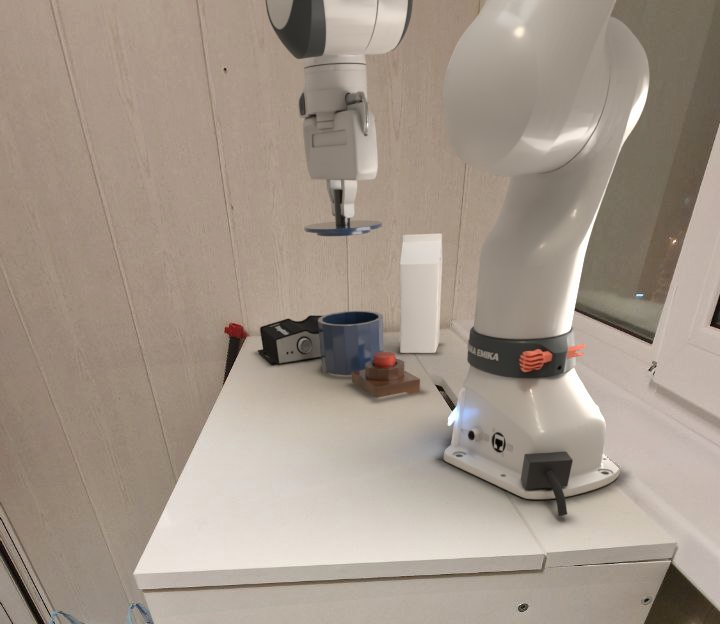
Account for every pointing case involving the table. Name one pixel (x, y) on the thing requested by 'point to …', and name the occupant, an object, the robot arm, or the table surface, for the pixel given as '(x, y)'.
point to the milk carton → (420, 293)
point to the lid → (342, 223)
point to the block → (386, 379)
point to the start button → (384, 359)
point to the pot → (349, 340)
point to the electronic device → (291, 340)
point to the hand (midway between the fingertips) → (343, 216)
